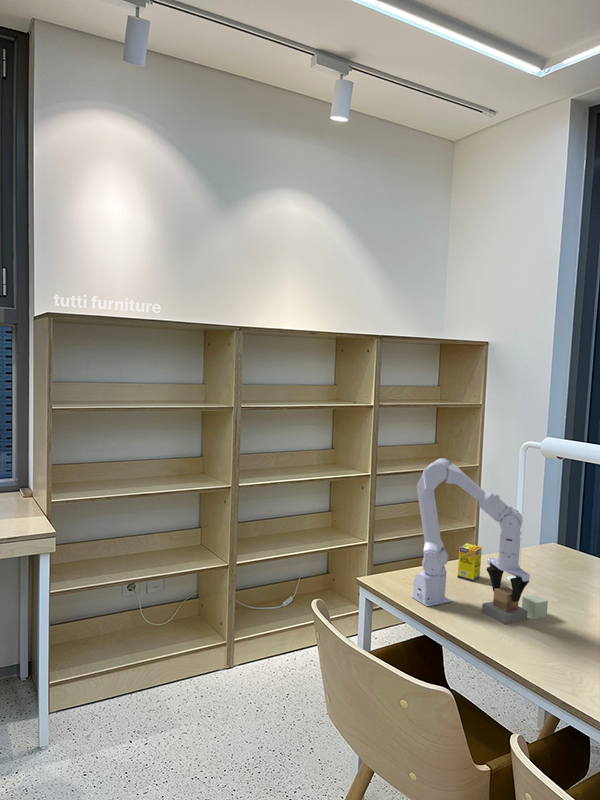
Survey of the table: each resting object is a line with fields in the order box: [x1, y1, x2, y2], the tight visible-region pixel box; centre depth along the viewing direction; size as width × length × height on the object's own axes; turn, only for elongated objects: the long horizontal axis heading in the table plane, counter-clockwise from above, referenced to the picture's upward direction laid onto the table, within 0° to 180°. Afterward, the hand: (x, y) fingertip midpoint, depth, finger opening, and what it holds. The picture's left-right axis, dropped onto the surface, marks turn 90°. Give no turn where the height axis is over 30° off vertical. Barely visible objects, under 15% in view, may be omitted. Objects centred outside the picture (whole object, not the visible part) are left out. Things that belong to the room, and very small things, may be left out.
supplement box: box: [457, 542, 483, 583], centre depth 206 cm, size 6×6×11 cm
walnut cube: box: [493, 586, 520, 612], centre depth 177 cm, size 5×5×5 cm
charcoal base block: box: [481, 601, 528, 625], centre depth 177 cm, size 9×9×3 cm
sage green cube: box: [521, 594, 549, 620], centre depth 178 cm, size 5×5×5 cm
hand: (505, 596), depth 177 cm, fingers open, 7 cm apart
